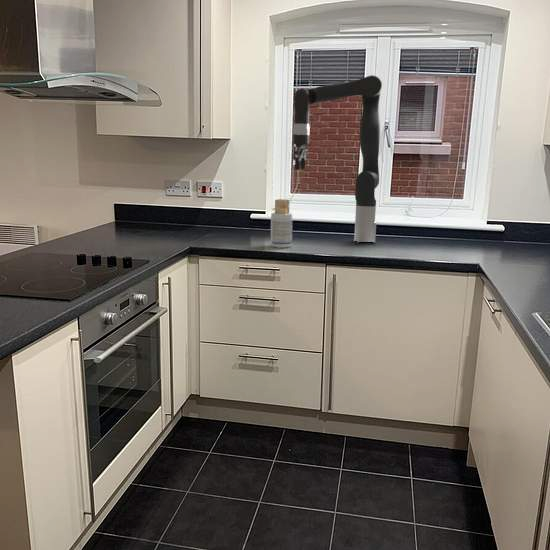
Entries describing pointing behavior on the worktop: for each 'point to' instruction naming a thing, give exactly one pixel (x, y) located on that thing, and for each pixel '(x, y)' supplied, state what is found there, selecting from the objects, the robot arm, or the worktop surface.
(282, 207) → the oak block
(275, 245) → the supplement tub
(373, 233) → the robot arm
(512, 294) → the worktop surface
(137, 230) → the worktop surface
